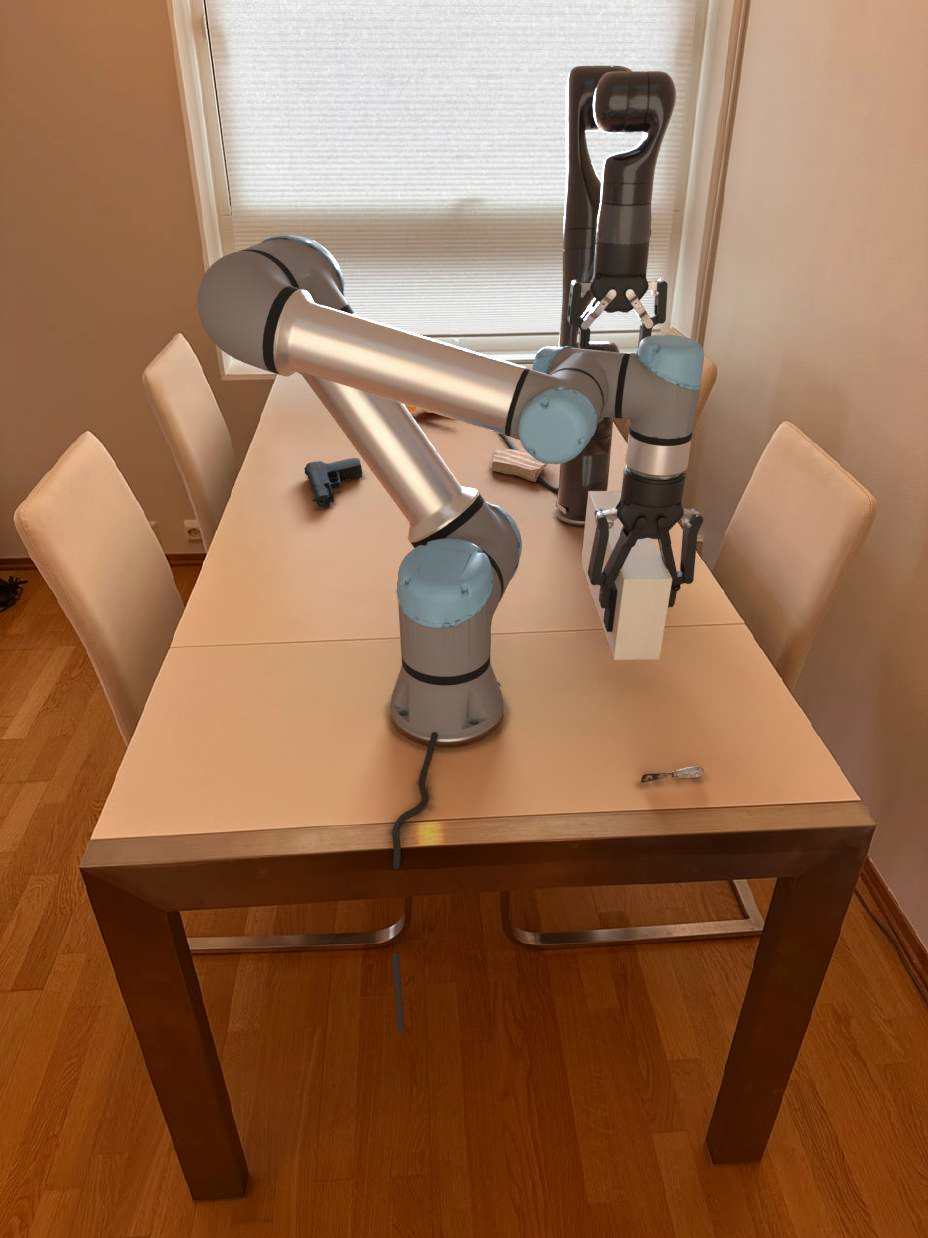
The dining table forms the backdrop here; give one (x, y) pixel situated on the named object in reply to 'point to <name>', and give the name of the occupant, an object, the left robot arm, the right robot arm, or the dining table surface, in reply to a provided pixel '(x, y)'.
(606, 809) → the dining table surface
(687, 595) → the dining table surface
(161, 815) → the dining table surface
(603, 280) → the right robot arm
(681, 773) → the putty knife
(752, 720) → the dining table surface
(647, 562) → the box
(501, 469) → the stone
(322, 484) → the handgun
